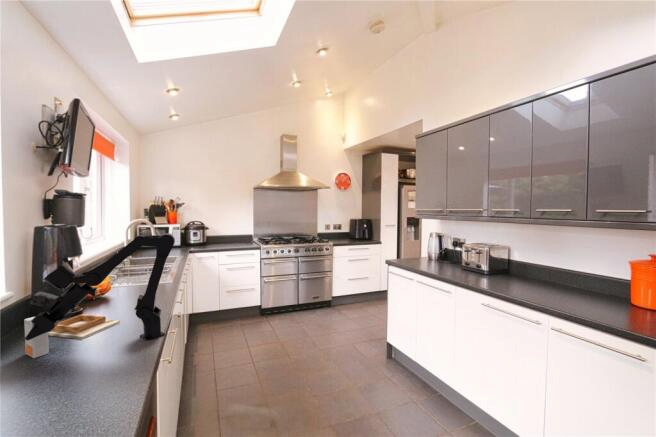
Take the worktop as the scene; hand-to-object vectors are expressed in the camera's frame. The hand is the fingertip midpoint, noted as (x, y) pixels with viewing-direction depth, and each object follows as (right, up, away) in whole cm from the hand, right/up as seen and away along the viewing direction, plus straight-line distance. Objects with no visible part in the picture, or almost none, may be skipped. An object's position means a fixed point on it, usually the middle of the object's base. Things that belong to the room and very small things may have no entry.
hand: (31, 335), depth 103 cm
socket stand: (-2, -6, +22) cm, 23 cm away
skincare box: (+1, -7, +1) cm, 7 cm away
